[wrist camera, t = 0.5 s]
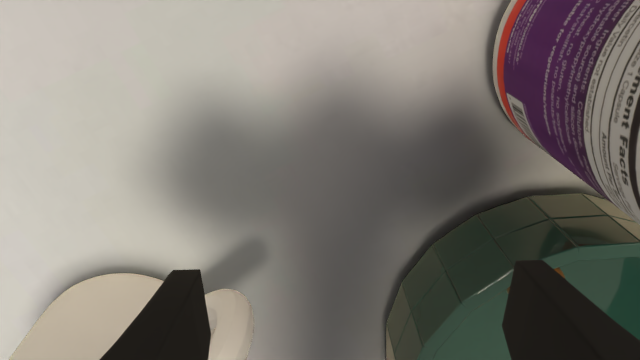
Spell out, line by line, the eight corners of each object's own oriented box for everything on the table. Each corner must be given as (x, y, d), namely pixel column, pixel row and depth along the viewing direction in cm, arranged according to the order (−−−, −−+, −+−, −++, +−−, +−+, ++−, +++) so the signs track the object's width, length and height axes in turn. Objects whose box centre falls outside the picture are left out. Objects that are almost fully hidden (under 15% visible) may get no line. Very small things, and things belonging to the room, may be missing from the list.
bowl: (541, 470, 30) (586, 565, 25) (326, 363, 26) (333, 449, 22) (742, 283, 25) (841, 355, 21) (517, 127, 22) (575, 171, 17)
